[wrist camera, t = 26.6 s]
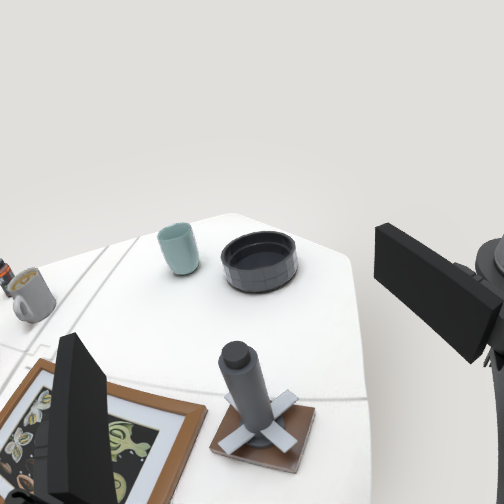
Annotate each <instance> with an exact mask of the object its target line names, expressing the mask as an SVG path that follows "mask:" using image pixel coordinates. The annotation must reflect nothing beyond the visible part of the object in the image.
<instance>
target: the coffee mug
mask: <svg viewBox="0 0 504 504" xmlns="http://www.w3.org/2000/svg"><path fill="white" fill-rule="evenodd" d="M8 291H9V293H10V294H11V296H12V298H13V299H14V302H13V310H14V312H15V314H16V316H17V317H18V318H19V319H20V320H21V321H28V322H29V323H36V322H39V321H41V320H43V319H44V318H46V317H47V316H48V315H49V314H50V313H51V312H52V311H53V310H54V308H55V306H56V301H55V299H54V297H53V295H52V294H51V292H50V290H49V288H48V286H47V285H46V283H45V281H44V279H43V277H42V275H41V274H40V272H39V270H38V268H35V267H32V268H28V269H26V270H24V271H22V272H21V273H19V274H18V275H16V276H15V277H14V278H13V279H12V280H11V282H10V283H9V285H8Z"/></svg>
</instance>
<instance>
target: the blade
mask: <svg viewBox="0 0 504 504" xmlns="http://www.w3.org/2000/svg"><path fill="white" fill-rule="evenodd" d="M218 364H219V368H220V370H221V372H222V375H223V377H224V380H225V382H226V384H227V387H228V389H229V391H230V392H229V393H228V394H226V395H225V396H224V398H225V399H226V400H227V401H228V402H229V403H230V404H231V405H232V406H233V407H234V408H235V409H236V410H237V411H238V412H239V414H240V417H241V420H240V423H239V427H238V429H237V430H235V431H234V432H233V433H231V434H230V435H228V436H227V437H226V438H224V439H223V440H222V441H220V442H219V443H218V444H219V446H220V447H221V448H222V449H223V450H224V451H225V452H226V453H227V454H228V455H230V454H231V453H232V452H234V451H235V450H236V449H238V448H239V447H240V446H242V445H243V444H244V443H246V444H247V445H248V446H250V447H253V448H257V449H265V448H269V447H272V446H274V445H275V446H277V447H278V448H279V449H280V450H281V451H282V452H284V453H286V452H287V451H288V450H289V449H290V448H291V447H293V446H294V445H295V444H296V443H297V442H298V441H297V440H296V439H295V438H294V437H292V436H291V435H290V434H289V433H288V432H286V431H285V424H284V420H283V418H282V416H281V414H282V413H283V412H285V411H286V410H287V409H288V408H289V407H290V406H292V405H293V404H294V403H295V402H296V401H297V400H299V398H298V397H297V396H296V395H294V394H293V393H292V392H290V391H289V390H288V389H287V390H286V391H285V392H284V393H282V394H281V395H280V396H279V397H278V398H276V399H275V400H274V401H273V402H271V403H270V400H269V397H268V393H267V389H266V386H265V382H264V378H263V375H262V371H261V367H260V363H259V360H258V356H257V353H256V351H255V350H254V349H253V348H251V347H249V346H247V345H246V344H245V343H244V342H241V341H233V342H230V343H228V344H226V345H225V346H224V347H223V349H222V354H221V356H220V357H219V361H218Z"/></svg>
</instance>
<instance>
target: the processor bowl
mask: <svg viewBox="0 0 504 504" xmlns="http://www.w3.org/2000/svg"><path fill="white" fill-rule="evenodd" d="M221 261H222V265H223V269H224V272H225V276H226V278H227V281H228V282H229V283H230V284H231V285H232V286H233V287H235V288H237V289H239V290H241V291H244V292H249V293H262V292H268V291H271V290H274V289H277V288H279V287H281V286H283V285H284V284H286V283H287V282H288V281H289V280H290V279H291V278H292V276H293V275H294V274H295V272H296V270H297V267H298V263H297V255H296V247H295V242H294V240H293V239H292V238H291V237H290V236H288V235H286V234H284V233H280V232H275V231H261V232H253V233H250V234H247V235H243V236H241V237H239V238H237V239H235V240H233V241H232V242H230V243H229V244H228V245H226V247H225V248H224V249H223V251H222V254H221Z"/></svg>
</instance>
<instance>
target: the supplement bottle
mask: <svg viewBox="0 0 504 504" xmlns="http://www.w3.org/2000/svg"><path fill="white" fill-rule="evenodd" d="M14 277H15V276H14V274H13V272H12V270H11V268H10V267H9V265H8V264H7V263H4V261H3V260H2V259H0V285H1V287H2V289H3V290H4V292H5V294H6V295H7V296H8V297H10V296H11V294H10V293H9V291H8V285H9V283H10V282H11V280H12V279H13V278H14Z"/></svg>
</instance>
